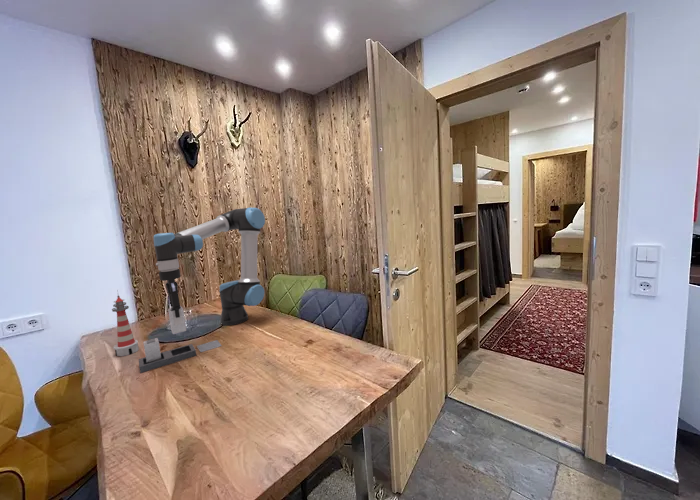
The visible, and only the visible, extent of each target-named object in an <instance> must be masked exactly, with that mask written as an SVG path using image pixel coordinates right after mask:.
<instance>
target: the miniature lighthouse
mask: <svg viewBox="0 0 700 500" xmlns="http://www.w3.org/2000/svg"><path fill="white" fill-rule="evenodd" d="M118 290H119V289H117V293H119V291H118ZM116 297H117V298H116V300H114V301H113V303H114V304H112V306H113V308H112V309H111V311H112V312H114V313H115V312H116V328H117V332H116V333H117V337H116V338H117V344H114V346H113V350H114V352H115V356H116V357H125V356H129V355H133V354H134V353H136V352H138V351H139V341H138V339H135V337H134V334H133V331H132V327H131V325H130V322H129V319H128V316H127V313H126V310H128V309H129V307H130V306H129V305H127V302H126V301H125V299H122V298H121V297H120V295H119V294H117V296H116Z"/></svg>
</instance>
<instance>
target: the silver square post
mask: <svg viewBox="0 0 700 500" xmlns="http://www.w3.org/2000/svg"><path fill="white" fill-rule="evenodd" d="M143 349H144V354H145V357H146V362H147V364H148V363H152V362H155V361H158V360H161V353H162V352H161V347H160V341H159V338H158V337H156V338H151V339H148V340H145V341H143Z"/></svg>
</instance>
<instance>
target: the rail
mask: <svg viewBox="0 0 700 500" xmlns="http://www.w3.org/2000/svg"><path fill="white" fill-rule="evenodd" d="M160 353H161V360H158V361H155V362H152V363H148V364H147V362H146V356H145V357H141V358H138V367H139V373H140V374H142V373H145V372H146V373H147V372H148V371H152V370H156V369H158V368H162V367H165V366H167V365H172V364H175V363H178V362H181V361H185V360H188V359H191V358H193V357H197V350H196V348H195V347H194V345H193V343H190V344H186V345H183V346H180V347H176V348H173V349H170V350H169V349H168V350H165V351H162V352H160Z"/></svg>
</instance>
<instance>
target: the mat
mask: <svg viewBox="0 0 700 500" xmlns="http://www.w3.org/2000/svg"><path fill="white" fill-rule="evenodd" d="M220 347H223V345H222V344H221V343H220V342H219V340H218V339H215V340H211V341H209V342H206V343H201V344H198V345H196V348H197V349H198V351H199V353H204V352H207V351H211V350H213V349H214V350H215V349H217V348H220Z"/></svg>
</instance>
